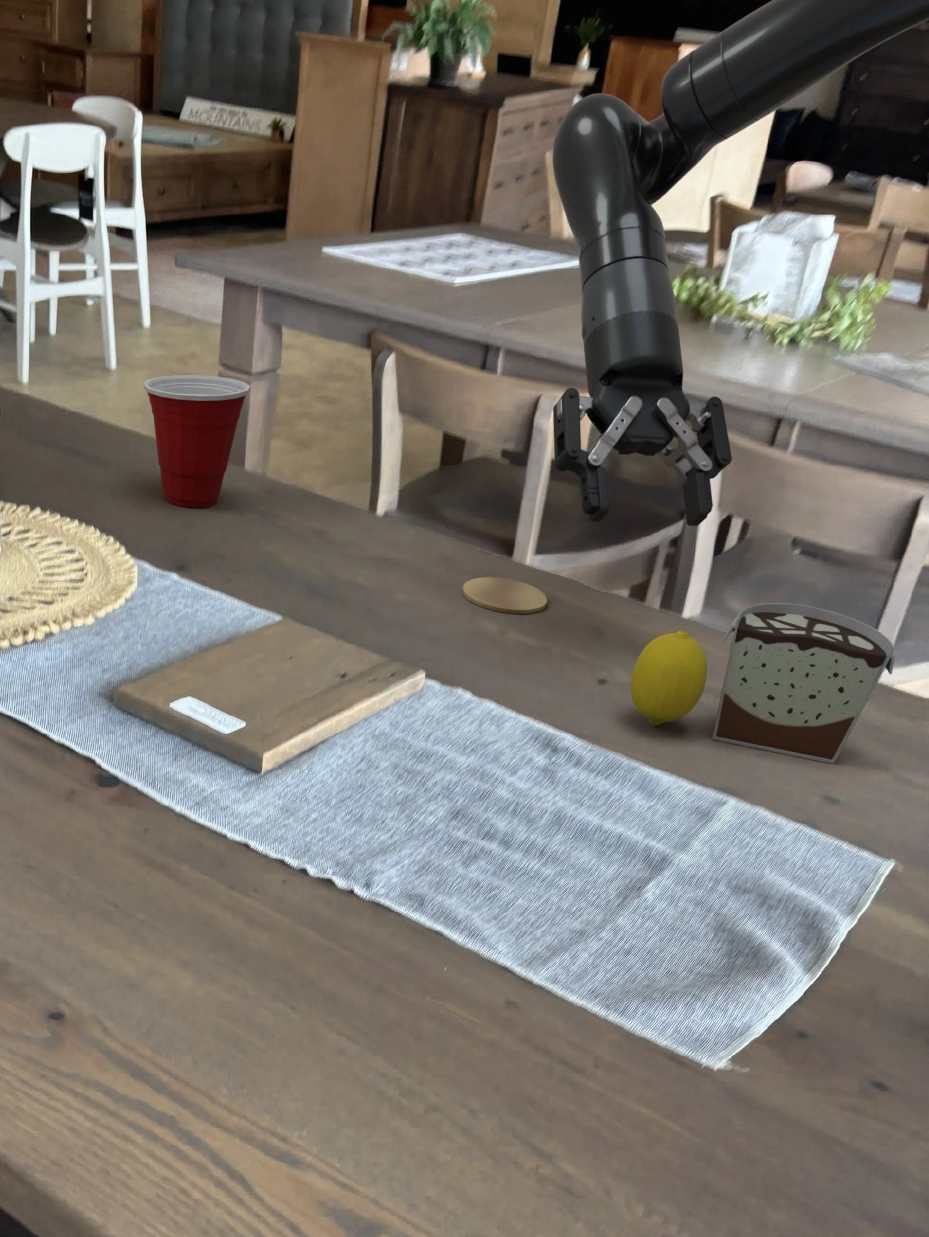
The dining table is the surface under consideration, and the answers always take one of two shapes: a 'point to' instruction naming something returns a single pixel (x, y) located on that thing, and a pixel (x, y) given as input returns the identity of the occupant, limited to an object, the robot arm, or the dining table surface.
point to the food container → (798, 679)
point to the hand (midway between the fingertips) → (649, 519)
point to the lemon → (669, 677)
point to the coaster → (504, 595)
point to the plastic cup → (194, 433)
